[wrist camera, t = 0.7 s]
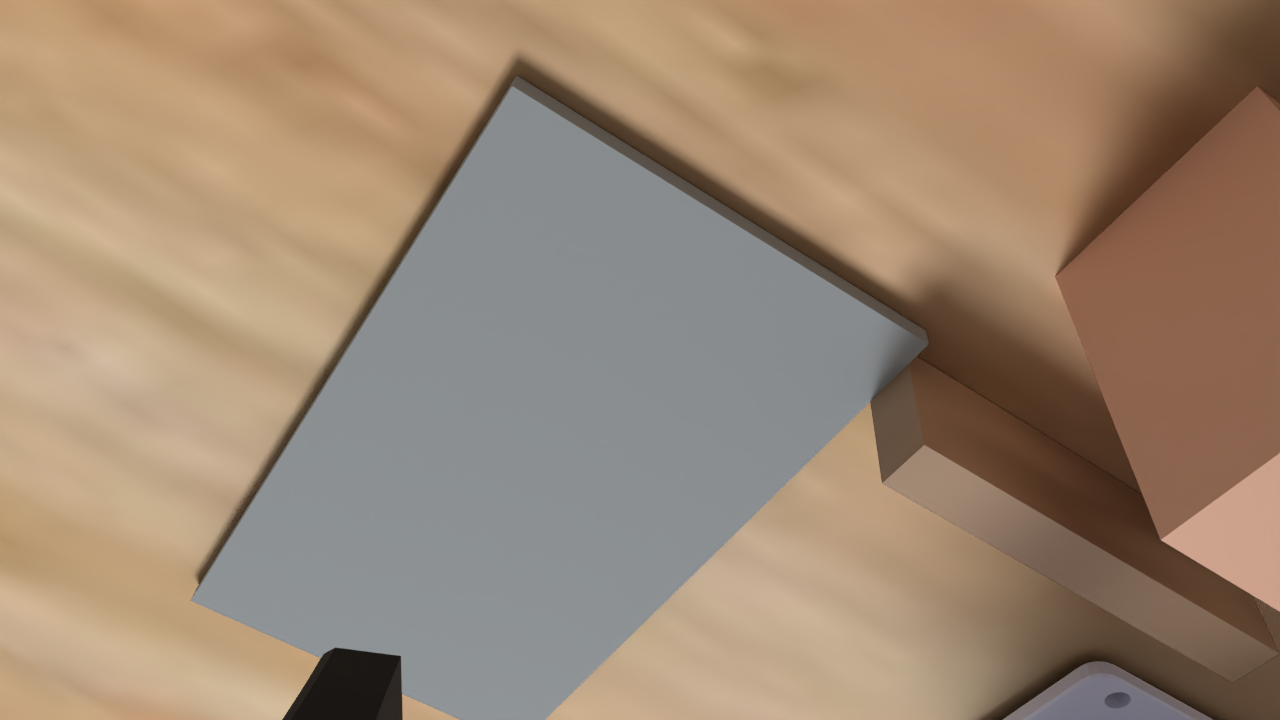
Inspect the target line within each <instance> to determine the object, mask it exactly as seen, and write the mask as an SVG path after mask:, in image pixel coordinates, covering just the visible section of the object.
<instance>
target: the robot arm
mask: <svg viewBox="0 0 1280 720" xmlns="http://www.w3.org/2000/svg"><path fill="white" fill-rule="evenodd" d="M283 720H402V677H401V656H398V655H390V654H382V653H374V652H367V651H359V650H351V649H344V648H336V647H335V648H333V649H332V650H330V651H328V652H326V653H324V654H323V656H322V657H321V659H320V661H319V662H318V664H317V666H316V667H315V669H314V671H313V673H312V674H311V676H310V678H309V679H308V681H307V682H306V684H305V686H304V687H303V689H302V690H301V692H300V693H299V695H298V697H297V698H296V700H295V701H294V703H293V704H292V706H291V707H290V709H289V710H288V712H287V713H286V715H285V716H284V718H283ZM1003 720H1213V719H1211V718H1209V717H1208V716H1206V715H1204V714H1202V713H1200V712H1199V711H1197V710H1195V709H1193V708H1191V707H1190V706H1188V705H1186V704H1184V703H1182V702H1181V701H1179V700H1177V699H1175V698H1173V697H1171V696H1170V695H1168V694H1166V693H1164V692H1162V691H1161V690H1159V689H1157V688H1155V687H1153V686H1152V685H1150V684H1148V683H1146V682H1144V681H1143V680H1141V679H1139V678H1137V677H1135V676H1133V675H1132V674H1130V673H1128V672H1126V671H1124V670H1123V669H1121V668H1119V667H1117V666H1115V665H1113V664H1110V663H1107V662H1103V661H1094V662H1089V663H1086V664H1084V665H1082V666H1080V667H1078V668H1077V669H1075V670H1074V671H1072V672H1071V673H1069V674H1068V675H1066V676H1065V677H1064V678H1062V679H1061V680H1059V681H1058V682H1056V683H1055V684H1053V685H1052V686H1051V687H1049V688H1048V689H1046V690H1045V691H1043V692H1042V693H1040V694H1039V695H1038V696H1036V697H1035V698H1033V699H1032V700H1030V701H1029V702H1027V703H1026V704H1024V705H1023V706H1022V707H1020V708H1019V709H1017V710H1016V711H1014V712H1013V713H1011V714H1010V715H1009V716H1007V717H1006V718H1004V719H1003Z"/></svg>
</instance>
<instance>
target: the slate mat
mask: <svg viewBox="0 0 1280 720" xmlns="http://www.w3.org/2000/svg"><path fill="white" fill-rule="evenodd" d="M928 345H929V343H928V339H927V334H926V330H924V329H922V328H921V327H919V326H918V325H916V324H914V323H913V322H911V321H910V320H908V319H906V318H905V317H903V316H902V315H900V314H898V313H897V312H895V311H894V310H892V309H890V308H889V307H887V306H886V305H884V304H882V303H881V302H879V301H878V300H876V299H874V298H873V297H871V296H870V295H868V294H866V293H865V292H863V291H862V290H860V289H858V288H857V287H855V286H854V285H852V284H850V283H849V282H847V281H845V280H844V279H842V278H841V277H839V276H837V275H836V274H834V273H833V272H831V271H829V270H828V269H826V268H825V267H823V266H821V265H820V264H818V263H817V262H815V261H813V260H812V259H810V258H809V257H807V256H805V255H804V254H802V253H801V252H799V251H797V250H796V249H794V248H793V247H791V246H789V245H788V244H786V243H785V242H783V241H781V240H780V239H778V238H777V237H775V236H773V235H772V234H770V233H769V232H767V231H765V230H764V229H762V228H761V227H759V226H757V225H756V224H754V223H752V222H751V221H749V220H748V219H746V218H744V217H743V216H741V215H740V214H738V213H736V212H735V211H733V210H732V209H730V208H728V207H727V206H725V205H724V204H722V203H720V202H719V201H717V200H716V199H714V198H712V197H711V196H709V195H708V194H706V193H704V192H703V191H701V190H700V189H698V188H696V187H695V186H693V185H692V184H690V183H688V182H687V181H685V180H684V179H682V178H680V177H679V176H677V175H676V174H674V173H672V172H671V171H669V170H668V169H666V168H664V167H663V166H661V165H659V164H658V163H656V162H655V161H653V160H651V159H650V158H648V157H647V156H645V155H643V154H642V153H640V152H639V151H637V150H635V149H634V148H632V147H631V146H629V145H627V144H626V143H624V142H623V141H621V140H619V139H618V138H616V137H615V136H613V135H611V134H610V133H608V132H607V131H605V130H603V129H602V128H600V127H599V126H597V125H595V124H594V123H592V122H591V121H589V120H587V119H586V118H584V117H583V116H581V115H579V114H578V113H576V112H575V111H573V110H571V109H570V108H568V107H566V106H565V105H563V104H562V103H560V102H558V101H557V100H555V99H554V98H552V97H550V96H549V95H547V94H546V93H544V92H542V91H541V90H539V89H538V88H536V87H534V86H533V85H531V84H530V83H528V82H526V81H525V80H523V79H522V78H520V77H518V76H517V75H516V77H515V78H514V80H513V82H512V83H511V85H510V86H509V88H508V90H507V91H506V93H505V94H504V96H503V98H502V99H501V101H500V103H499V104H498V106H497V107H496V109H495V111H494V112H493V114H492V115H491V117H490V119H489V120H488V122H487V123H486V125H485V127H484V128H483V130H482V131H481V133H480V135H479V136H478V138H477V139H476V141H475V143H474V144H473V146H472V147H471V149H470V151H469V152H468V154H467V155H466V157H465V159H464V160H463V162H462V163H461V165H460V167H459V168H458V170H457V171H456V173H455V175H454V176H453V178H452V179H451V181H450V183H449V184H448V186H447V188H446V189H445V191H444V192H443V194H442V196H441V197H440V199H439V200H438V202H437V204H436V205H435V207H434V208H433V210H432V212H431V213H430V215H429V216H428V218H427V220H426V221H425V223H424V224H423V226H422V228H421V229H420V231H419V232H418V234H417V236H416V237H415V239H414V240H413V242H412V244H411V245H410V247H409V248H408V250H407V252H406V253H405V255H404V256H403V258H402V260H401V261H400V263H399V265H398V266H397V268H396V269H395V271H394V273H393V274H392V276H391V277H390V279H389V281H388V282H387V284H386V285H385V287H384V289H383V290H382V292H381V293H380V295H379V297H378V298H377V300H376V301H375V303H374V305H373V306H372V308H371V309H370V311H369V313H368V314H367V316H366V317H365V319H364V321H363V322H362V324H361V325H360V327H359V329H358V330H357V332H356V333H355V335H354V337H353V338H352V340H351V342H350V343H349V345H348V346H347V348H346V350H345V351H344V353H343V354H342V356H341V358H340V359H339V361H338V362H337V364H336V366H335V367H334V369H333V370H332V372H331V374H330V375H329V377H328V378H327V380H326V382H325V383H324V385H323V386H322V388H321V390H320V391H319V393H318V394H317V396H316V398H315V399H314V401H313V402H312V404H311V406H310V407H309V409H308V410H307V412H306V414H305V415H304V417H303V419H302V420H301V422H300V423H299V425H298V427H297V428H296V430H295V431H294V433H293V435H292V436H291V438H290V439H289V441H288V443H287V444H286V446H285V447H284V449H283V451H282V452H281V454H280V455H279V457H278V459H277V460H276V462H275V463H274V465H273V467H272V468H271V470H270V471H269V473H268V475H267V476H266V478H265V479H264V481H263V483H262V484H261V486H260V487H259V489H258V491H257V492H256V494H255V496H254V497H253V499H252V500H251V502H250V504H249V505H248V507H247V508H246V510H245V512H244V513H243V515H242V516H241V518H240V520H239V521H238V523H237V524H236V526H235V528H234V529H233V531H232V532H231V534H230V536H229V537H228V539H227V540H226V542H225V544H224V545H223V547H222V548H221V550H220V552H219V553H218V555H217V556H216V558H215V560H214V561H213V563H212V564H211V566H210V568H209V569H208V571H207V573H206V574H205V576H204V577H203V579H202V581H201V582H200V584H199V585H198V587H197V589H196V591H195V593H194V595H193V597H192V599H191V601H192V602H195V603H197V604H199V605H202V606H204V607H206V608H208V609H211V610H213V611H215V612H217V613H220V614H222V615H224V616H226V617H229V618H231V619H233V620H236V621H238V622H240V623H242V624H245V625H247V626H249V627H251V628H254V629H256V630H258V631H261V632H263V633H265V634H267V635H270V636H272V637H274V638H276V639H279V640H281V641H283V642H285V643H288V644H290V645H292V646H295V647H297V648H299V649H301V650H304V651H306V652H308V653H310V654H313V655H315V656H317V657H320V658H321V657H322V656H323V654H324V653H326V652H328V651H330V650H332V649H333V648H335V647H336V648H344V649H351V650H359V651H367V652H374V653H382V654H390V655H398V656H401V677H402V694H404V695H406V696H408V697H410V698H413V699H415V700H417V701H419V702H422V703H424V704H426V705H428V706H431V707H433V708H435V709H438V710H440V711H442V712H444V713H447V714H449V715H451V716H453V717H456V718H458V719H460V720H545V719H546V718H547V717H548V716H549V715H550V714H551V713H552V712H553V711H554V710H555V709H556V708H557V707H558V706H559V705H560V704H561V703H562V702H563V701H564V700H565V699H566V698H567V697H568V696H569V695H571V694H572V693H573V692H574V691H575V690H576V689H577V688H578V687H579V686H580V685H581V684H582V683H583V682H584V681H585V680H586V679H587V678H588V677H589V676H590V675H591V674H592V673H593V672H594V671H595V670H596V669H597V668H598V667H599V666H600V665H601V664H602V663H603V662H604V661H605V660H606V659H607V658H608V657H609V656H610V655H611V654H612V653H613V652H614V651H616V650H617V649H618V648H619V647H620V646H621V645H622V644H623V643H624V642H625V641H626V640H627V639H628V638H629V637H630V636H631V635H632V634H633V633H634V632H635V631H636V630H637V629H638V628H639V627H640V626H641V625H642V624H643V623H644V622H645V621H646V620H647V619H648V618H649V617H650V616H651V615H652V614H653V613H654V612H655V611H656V610H657V609H658V608H660V607H661V606H662V605H663V604H664V603H665V602H666V601H667V600H668V599H669V598H670V597H671V596H672V595H673V594H674V593H675V592H676V591H677V590H678V589H679V588H680V587H681V586H682V585H683V584H684V583H685V582H686V581H687V580H688V579H689V578H690V577H691V576H692V575H693V574H694V573H695V572H696V571H697V570H698V569H699V568H700V567H701V566H702V565H703V564H705V563H706V562H707V561H708V560H709V559H710V558H711V557H712V556H713V555H714V554H715V553H716V552H717V551H718V550H719V549H720V548H721V547H722V546H723V545H724V544H725V543H726V542H727V541H728V540H729V539H730V538H731V537H732V536H733V535H734V534H735V533H736V532H737V531H738V530H739V529H740V528H741V527H742V526H743V525H744V524H745V523H746V522H747V521H749V520H750V519H751V518H752V517H753V516H754V515H755V514H756V513H757V512H758V511H759V510H760V509H761V508H762V507H763V506H764V505H765V504H766V503H767V502H768V501H769V500H770V499H771V498H772V497H773V496H774V495H775V494H776V493H777V492H778V491H779V490H780V489H781V488H782V487H783V486H784V485H785V484H786V483H787V482H788V481H789V480H790V479H791V478H792V477H794V476H795V475H796V474H797V473H798V472H799V471H800V470H801V469H802V468H803V467H804V466H805V465H806V464H807V463H808V462H809V461H810V460H811V459H812V458H813V457H814V456H815V455H816V454H817V453H818V452H819V451H820V450H821V449H822V448H823V447H824V446H825V445H826V444H827V443H828V442H829V441H830V440H831V439H832V438H833V437H834V436H835V435H836V434H838V433H839V432H840V431H841V430H842V429H843V428H844V427H845V426H846V425H847V424H848V423H849V422H850V421H851V420H852V419H853V418H854V417H855V416H856V415H857V414H858V413H859V412H860V411H861V410H862V409H863V408H864V407H865V406H866V405H867V404H868V403H869V402H870V401H871V400H872V399H873V398H874V397H875V396H876V395H877V394H878V393H879V392H880V391H881V390H883V389H884V388H885V387H886V386H887V385H888V384H889V383H890V382H891V381H892V380H893V379H894V378H895V377H896V376H897V375H898V374H899V373H900V372H901V371H902V370H903V369H904V368H905V367H906V366H907V365H908V364H909V363H910V362H911V361H912V360H913V359H914V358H915V357H916V356H917V355H918V354H919V353H920V352H921V351H922V350H923V349H924V348H925V347H927V346H928Z"/></svg>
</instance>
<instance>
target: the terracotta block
mask: <svg viewBox="0 0 1280 720" xmlns="http://www.w3.org/2000/svg"><path fill="white" fill-rule="evenodd" d="M1055 278H1056V280H1057V282H1058V285H1059V287H1060V290H1061V292H1062V295H1063V297H1064V300H1065V302H1066V305H1067V307H1068V310H1069V312H1070V315H1071V317H1072V320H1073V322H1074V325H1075V327H1076V330H1077V332H1078V335H1079V337H1080V340H1081V342H1082V345H1083V347H1084V350H1085V352H1086V355H1087V357H1088V360H1089V362H1090V365H1091V367H1092V370H1093V372H1094V375H1095V377H1096V380H1097V382H1098V385H1099V387H1100V390H1101V392H1102V395H1103V397H1104V400H1105V402H1106V405H1107V407H1108V410H1109V412H1110V415H1111V417H1112V420H1113V422H1114V425H1115V427H1116V430H1117V432H1118V435H1119V437H1120V440H1121V442H1122V445H1123V447H1124V450H1125V452H1126V455H1127V457H1128V460H1129V462H1130V465H1131V467H1132V470H1133V472H1134V475H1135V477H1136V480H1137V482H1138V485H1139V487H1140V490H1141V492H1142V495H1143V497H1144V500H1145V502H1146V505H1147V507H1148V510H1149V512H1150V515H1151V517H1152V520H1153V522H1154V525H1155V527H1156V530H1157V532H1158V535H1159V537H1160V540H1162V541H1163V542H1165V543H1166V544H1168V545H1170V546H1171V547H1173V548H1175V549H1176V550H1178V551H1180V552H1181V553H1183V554H1185V555H1186V556H1188V557H1190V558H1191V559H1193V560H1195V561H1196V562H1198V563H1200V564H1201V565H1203V566H1205V567H1206V568H1208V569H1210V570H1211V571H1213V572H1215V573H1216V574H1218V575H1220V576H1221V577H1223V578H1225V579H1226V580H1228V581H1230V582H1231V583H1233V584H1235V585H1236V586H1238V587H1240V588H1241V589H1243V590H1245V591H1246V592H1248V593H1249V594H1251V595H1253V596H1254V597H1256V598H1258V599H1259V600H1261V601H1263V602H1264V603H1266V604H1268V605H1269V606H1271V607H1273V608H1274V609H1276V610H1278V611H1279V612H1280V103H1278V102H1277V101H1276V100H1275V99H1273V98H1272V97H1271V96H1269V95H1268V94H1267V93H1266V92H1264V91H1263V90H1262V89H1260V88H1259V87H1258V86H1257V87H1256V88H1255V89H1254V90H1252V91H1251V92H1250V93H1249V94H1248V95H1247V96H1246V97H1245V98H1244V99H1243V100H1242V101H1241V102H1240V103H1239V104H1238V105H1237V106H1235V107H1234V108H1233V109H1232V110H1231V111H1230V112H1229V113H1228V114H1227V115H1226V116H1225V117H1224V118H1223V119H1222V120H1221V121H1220V122H1219V123H1217V124H1216V125H1215V126H1214V127H1213V128H1212V129H1211V130H1210V131H1209V132H1208V133H1207V134H1206V135H1205V136H1204V137H1203V138H1202V139H1200V140H1199V141H1198V142H1197V143H1196V144H1195V145H1194V146H1193V147H1192V148H1191V149H1190V150H1189V151H1188V152H1187V153H1186V154H1185V155H1184V156H1182V157H1181V158H1180V159H1179V160H1178V161H1177V162H1176V163H1175V164H1174V165H1173V166H1172V167H1171V168H1170V169H1169V170H1168V171H1167V172H1165V173H1164V174H1163V175H1162V176H1161V177H1160V178H1159V179H1158V180H1157V181H1156V182H1155V183H1154V184H1153V185H1152V186H1151V187H1150V188H1149V189H1147V190H1146V191H1145V192H1144V193H1143V194H1142V195H1141V196H1140V197H1139V198H1138V199H1137V200H1136V201H1135V202H1134V203H1133V204H1132V205H1130V206H1129V207H1128V208H1127V209H1126V210H1125V211H1124V212H1123V213H1122V214H1121V215H1120V216H1119V217H1118V218H1117V219H1116V220H1115V221H1114V222H1112V223H1111V224H1110V225H1109V226H1108V227H1107V228H1106V229H1105V230H1104V231H1103V232H1102V233H1101V234H1100V235H1099V236H1098V237H1097V238H1095V239H1094V240H1093V241H1092V242H1091V243H1090V244H1089V245H1088V246H1087V247H1086V248H1085V249H1084V250H1083V251H1082V252H1081V253H1080V254H1079V255H1077V256H1076V257H1075V258H1074V259H1073V260H1072V261H1071V262H1070V263H1069V264H1068V265H1067V266H1066V267H1065V268H1064V269H1063V270H1062V271H1060V272H1059V273H1058V274H1057V275H1056V276H1055Z"/></svg>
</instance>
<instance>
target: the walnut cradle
mask: <svg viewBox="0 0 1280 720" xmlns="http://www.w3.org/2000/svg"><path fill="white" fill-rule="evenodd" d="M870 402H871V409H872V416H873V423H874V430H875V437H876V444H877V451H878V458H879V465H880V472H881V479H882V484H884V485H886V486H887V487H889V488H891V489H893V490H895V491H896V492H898V493H900V494H902V495H903V496H905V497H907V498H909V499H910V500H912V501H914V502H916V503H917V504H919V505H921V506H923V507H924V508H926V509H928V510H930V511H931V512H933V513H935V514H937V515H938V516H940V517H942V518H944V519H945V520H947V521H949V522H951V523H953V524H954V525H956V526H958V527H960V528H961V529H963V530H965V531H967V532H968V533H970V534H972V535H974V536H975V537H977V538H979V539H981V540H982V541H984V542H986V543H988V544H989V545H991V546H993V547H995V548H996V549H998V550H1000V551H1002V552H1003V553H1005V554H1007V555H1009V556H1011V557H1012V558H1014V559H1016V560H1018V561H1019V562H1021V563H1023V564H1025V565H1026V566H1028V567H1030V568H1032V569H1033V570H1035V571H1037V572H1039V573H1040V574H1042V575H1044V576H1046V577H1047V578H1049V579H1051V580H1053V581H1054V582H1056V583H1058V584H1060V585H1061V586H1063V587H1065V588H1067V589H1069V590H1070V591H1072V592H1074V593H1076V594H1077V595H1079V596H1081V597H1083V598H1084V599H1086V600H1088V601H1090V602H1091V603H1093V604H1095V605H1097V606H1098V607H1100V608H1102V609H1104V610H1105V611H1107V612H1109V613H1111V614H1112V615H1114V616H1116V617H1118V618H1120V619H1121V620H1123V621H1125V622H1127V623H1128V624H1130V625H1132V626H1134V627H1135V628H1137V629H1139V630H1141V631H1142V632H1144V633H1146V634H1148V635H1149V636H1151V637H1153V638H1155V639H1156V640H1158V641H1160V642H1162V643H1163V644H1165V645H1167V646H1169V647H1170V648H1172V649H1174V650H1176V651H1178V652H1179V653H1181V654H1183V655H1185V656H1186V657H1188V658H1190V659H1192V660H1193V661H1195V662H1197V663H1199V664H1200V665H1202V666H1204V667H1206V668H1207V669H1209V670H1211V671H1213V672H1214V673H1216V674H1218V675H1220V676H1221V677H1223V678H1225V679H1227V680H1228V681H1230V682H1232V683H1233V682H1235V681H1237V680H1238V679H1240V678H1241V677H1243V676H1245V675H1246V674H1248V673H1249V672H1251V671H1253V670H1254V669H1256V668H1257V667H1259V666H1261V665H1262V664H1264V663H1265V662H1267V661H1269V660H1270V659H1272V658H1273V657H1275V656H1277V655H1278V654H1279V652H1278V649H1277V647H1276V645H1275V643H1274V641H1273V639H1272V636H1271V634H1270V632H1269V630H1268V628H1267V626H1266V624H1265V621H1264V619H1263V617H1262V615H1261V613H1260V611H1259V609H1258V606H1257V604H1256V602H1255V600H1254V598H1253V596H1252V595H1251V594H1249V593H1248V592H1246V591H1245V590H1243V589H1241V588H1240V587H1238V586H1236V585H1235V584H1233V583H1231V582H1230V581H1228V580H1226V579H1225V578H1223V577H1221V576H1220V575H1218V574H1216V573H1215V572H1213V571H1211V570H1210V569H1208V568H1206V567H1205V566H1203V565H1201V564H1200V563H1198V562H1196V561H1195V560H1193V559H1191V558H1190V557H1188V556H1186V555H1185V554H1183V553H1181V552H1180V551H1178V550H1176V549H1175V548H1173V547H1171V546H1170V545H1168V544H1166V543H1165V542H1163V541H1162V540H1160V537H1159V535H1158V532H1157V530H1156V527H1155V525H1154V522H1153V520H1152V517H1151V515H1150V512H1149V510H1148V507H1147V505H1146V502H1145V500H1144V497H1143V495H1142V494H1140V493H1138V492H1137V491H1135V490H1133V489H1132V488H1130V487H1129V486H1127V485H1125V484H1124V483H1122V482H1120V481H1119V480H1117V479H1116V478H1114V477H1112V476H1111V475H1109V474H1107V473H1106V472H1104V471H1102V470H1101V469H1099V468H1098V467H1096V466H1094V465H1093V464H1091V463H1089V462H1088V461H1086V460H1085V459H1083V458H1081V457H1080V456H1078V455H1076V454H1075V453H1073V452H1072V451H1070V450H1068V449H1067V448H1065V447H1063V446H1062V445H1060V444H1059V443H1057V442H1055V441H1054V440H1052V439H1050V438H1049V437H1047V436H1045V435H1044V434H1042V433H1041V432H1039V431H1037V430H1036V429H1034V428H1032V427H1031V426H1029V425H1028V424H1026V423H1024V422H1023V421H1021V420H1019V419H1018V418H1016V417H1015V416H1013V415H1011V414H1010V413H1008V412H1006V411H1005V410H1003V409H1002V408H1000V407H998V406H997V405H995V404H993V403H992V402H990V401H988V400H987V399H985V398H984V397H982V396H980V395H979V394H977V393H975V392H974V391H972V390H971V389H969V388H967V387H966V386H964V385H962V384H961V383H959V382H958V381H956V380H954V379H953V378H951V377H949V376H948V375H946V374H945V373H943V372H941V371H940V370H938V369H936V368H935V367H933V366H931V365H930V364H928V363H927V362H925V361H923V360H922V359H920V358H918V357H917V356H916V357H915V358H914V359H913V360H912V361H911V362H910V363H909V364H908V365H907V366H906V367H905V368H904V369H903V370H902V371H901V372H900V373H899V374H898V375H897V376H896V377H895V378H894V379H893V380H892V381H891V382H890V383H889V384H888V385H887V386H886V387H885V388H884V389H883V390H881V391H880V392H879V393H878V394H877V395H876V396H875V397H874V398H873V399H872V400H871V401H870Z"/></svg>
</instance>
